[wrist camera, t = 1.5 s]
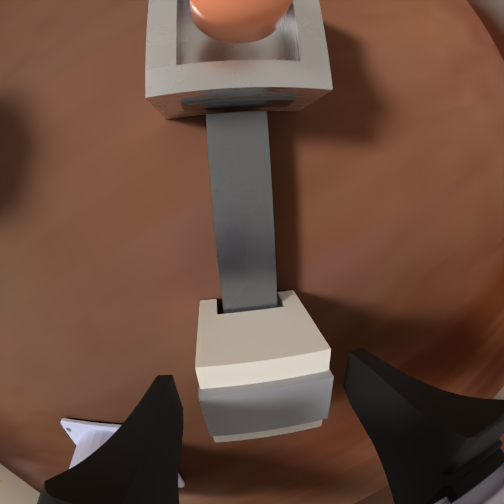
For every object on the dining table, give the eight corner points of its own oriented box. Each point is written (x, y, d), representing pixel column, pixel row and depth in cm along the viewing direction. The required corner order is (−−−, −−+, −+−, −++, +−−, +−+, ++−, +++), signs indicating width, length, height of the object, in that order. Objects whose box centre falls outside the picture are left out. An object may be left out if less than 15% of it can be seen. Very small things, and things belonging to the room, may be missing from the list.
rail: (290, 381, 16) (296, 397, 15) (218, 390, 16) (218, 408, 14) (282, 117, 12) (291, 110, 10) (184, 123, 11) (180, 117, 10)
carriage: (293, 359, 15) (324, 432, 10) (211, 369, 15) (213, 449, 10) (294, 289, 14) (336, 355, 9) (199, 300, 14) (193, 375, 8)
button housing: (299, 114, 12) (333, 93, 8) (166, 122, 11) (145, 102, 7) (287, 8, 10) (310, -34, 6) (165, 13, 10) (153, -32, 6)
